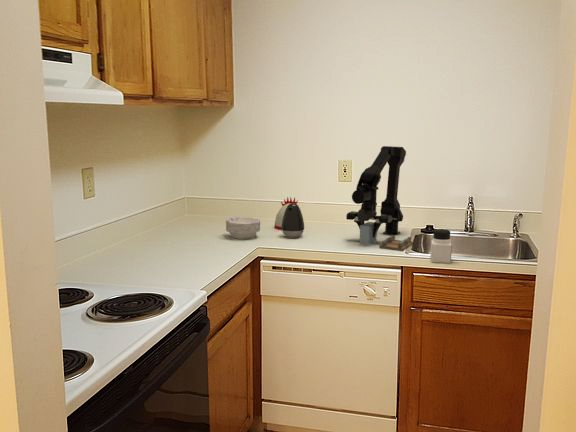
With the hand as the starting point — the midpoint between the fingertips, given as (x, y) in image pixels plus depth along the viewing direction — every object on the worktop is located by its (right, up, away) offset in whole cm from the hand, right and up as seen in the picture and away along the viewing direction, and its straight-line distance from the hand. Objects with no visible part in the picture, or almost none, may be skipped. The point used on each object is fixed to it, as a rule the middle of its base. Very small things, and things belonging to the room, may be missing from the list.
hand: (368, 236), depth 252 cm
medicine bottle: (+23, -8, -30) cm, 39 cm away
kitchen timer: (-34, +3, +30) cm, 45 cm away
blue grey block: (0, -2, 0) cm, 2 cm away
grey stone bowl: (-54, -1, +9) cm, 55 cm away
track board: (+11, -4, -7) cm, 13 cm away
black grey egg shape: (-32, -1, +10) cm, 34 cm away
